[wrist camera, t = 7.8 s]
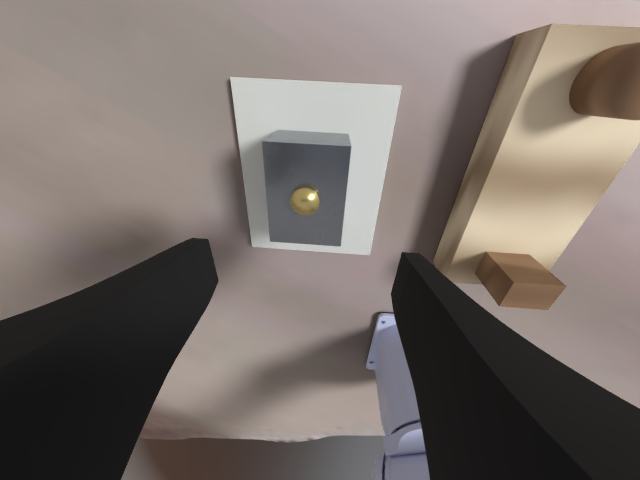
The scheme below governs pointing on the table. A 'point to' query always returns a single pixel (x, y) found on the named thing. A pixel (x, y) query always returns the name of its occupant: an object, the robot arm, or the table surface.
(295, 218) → the lever cap
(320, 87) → the felt mat
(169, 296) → the robot arm
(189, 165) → the table surface
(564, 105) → the body
